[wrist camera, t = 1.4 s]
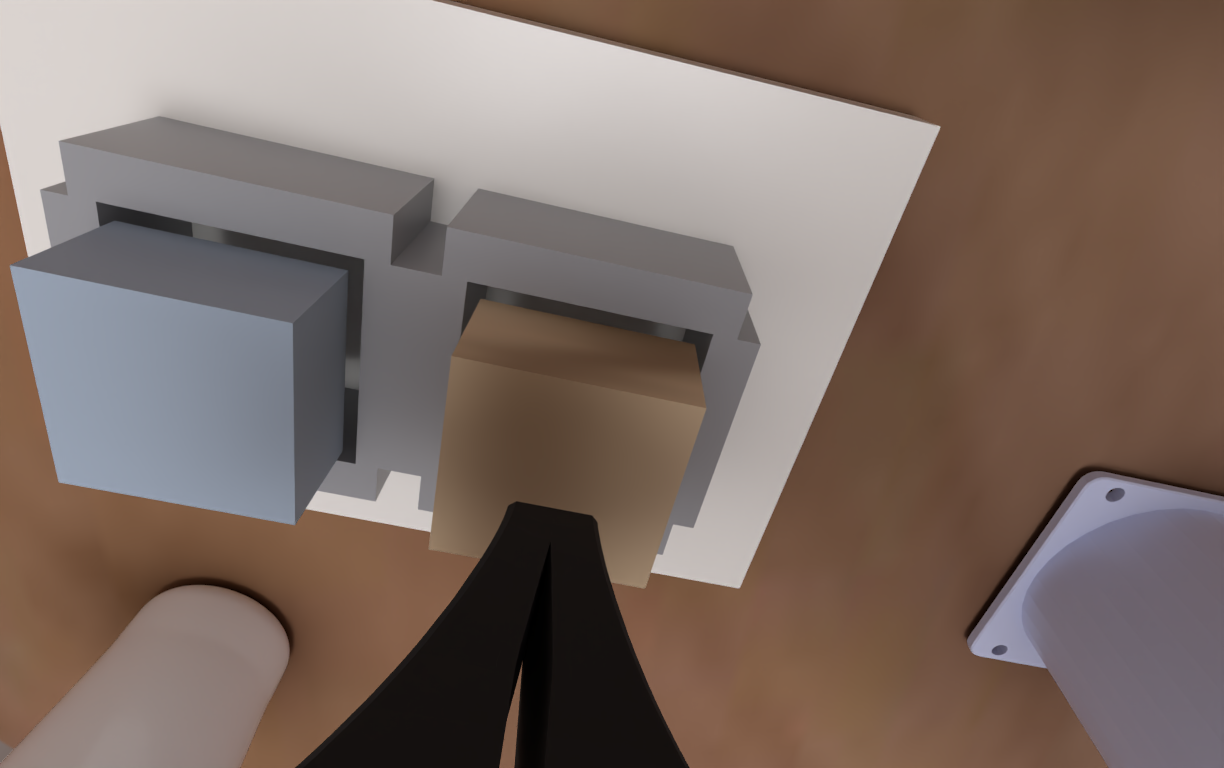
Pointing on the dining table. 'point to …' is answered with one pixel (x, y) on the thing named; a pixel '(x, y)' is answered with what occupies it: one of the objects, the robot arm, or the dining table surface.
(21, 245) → the dining table surface
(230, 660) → the drinking glass
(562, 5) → the dining table surface
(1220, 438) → the dining table surface
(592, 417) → the key oak
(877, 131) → the key panel
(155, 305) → the key slate
